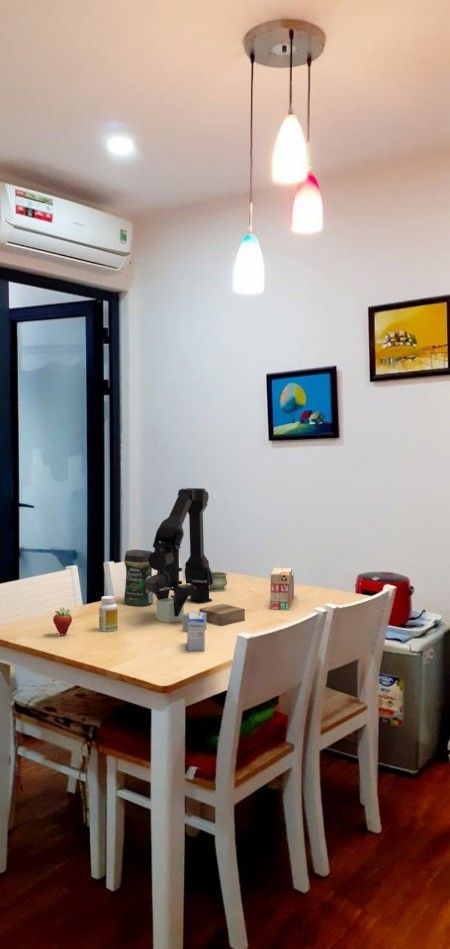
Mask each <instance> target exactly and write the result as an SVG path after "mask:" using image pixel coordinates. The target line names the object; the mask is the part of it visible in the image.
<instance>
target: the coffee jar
mask: <svg viewBox="0 0 450 949" xmlns="http://www.w3.org/2000/svg"><path fill="white" fill-rule="evenodd" d="M151 553H153V552H152V551H151V550H144V549H129V550H126V551H125V555H124V566H125V585H124V586H125V587H124V604H127V605H131V606H137V607H143V606H150V605H152V604H153V602H154V594H153V593H152V592H150V591H148V590H147V589H145V580H147V579H148V578H150V577H152V576H153V574H152V573H153V572H152V570H153V569H152V568H151V567H150V565H149V562H148V559H149V556H150V554H151Z"/></svg>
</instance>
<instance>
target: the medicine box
mask: <svg viewBox="0 0 450 949" xmlns="http://www.w3.org/2000/svg"><path fill="white" fill-rule="evenodd" d="M187 613H188V632H187V635H186V636H187V639H186V641H187V642H186V643H187V651H189V652H203V651H205V650H206V648H205V647H206V634H205V632H206V630H205V619H204V614H203V612H199V611H195V612H191V611H189V612H187Z"/></svg>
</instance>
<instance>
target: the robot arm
mask: <svg viewBox="0 0 450 949" xmlns="http://www.w3.org/2000/svg"><path fill="white" fill-rule="evenodd" d="M208 501H209V492H208V491H207V490H206V489H205V488H202V487H200V488H198V487H197V488H196V487H195V488H194V487H193V488H192V487H187V488H181V489H178V492H177V498H176V500H175V502H174V505H173V507H172V508H171V509H172V510H171V511H170V513H169V516H168V517H167V518H165V519H163V521H161V523H160V524H159V526H158V528H157V529H156V533H155V537H154V540H153V545H152V548H154V551H153V552H152V553H151V554H150V556H149V559H148V562H149V565H150V567H151V568H152V570H155V571H157V572H156V574H152V577H150V578H148V579H147V580H145V589H147V590H148V591H150V592H152V593H153V596H155V597H156V600H161V599H166V598H172V599H173V600H174V613H175V616H176V617H177V616H178V615H179V613H180V611H181V609H182V607H183V605H184V604H185V603H186V601H188V602H191V603H196V604H202V603H208V602H212V601H213V599H212V598H210V592H209V585H211V584H213V575H212V572H213V571H212V570H211V567H210V561H209V559H207V556H206V555H205V551H204V550H205V548H204V547H205V546H204V544H205V543H204V512H205V510H206V509H207V507H208ZM187 514H188V519H189V520H188V523H189V524H188V525H189V527H188V528H189V554H190V556H189V557H188V559H187V560H186V562H185V563H184V566H185V567H184V579H185V584H183V580H180V572H183V568H182V567H180V549H181V544H182V541H183V539H184V535H185V532H184V531H185V530H184V529H183V524H184V522H185V519H186V517H187ZM170 591H172V592H173V594H171V595H170ZM169 595H170V597H169ZM188 597H189V598H188ZM184 606H185V605H184Z"/></svg>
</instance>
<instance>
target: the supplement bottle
mask: <svg viewBox="0 0 450 949" xmlns="http://www.w3.org/2000/svg"><path fill="white" fill-rule="evenodd" d="M100 598H101V603H100V605H98V630H99V631H101V632H103V631H104V633H105V632H106V633H108V632H110V631H111V632H115V631H117V630H118V626H119V625H118V624H119V623H118V621H119V620H118V614H119V613H118V611H119V610H118V604H116V596H114V595H104V596H102V597H100Z"/></svg>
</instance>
